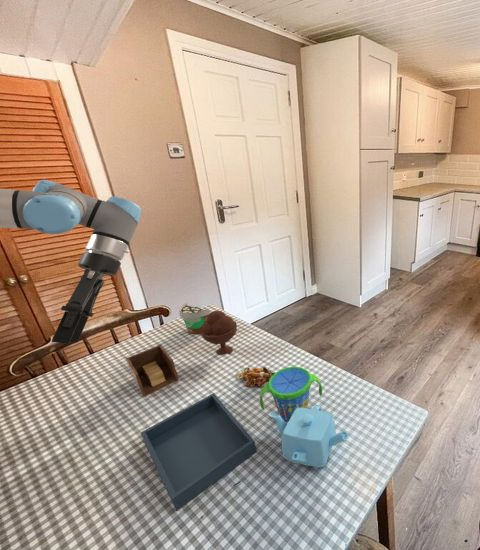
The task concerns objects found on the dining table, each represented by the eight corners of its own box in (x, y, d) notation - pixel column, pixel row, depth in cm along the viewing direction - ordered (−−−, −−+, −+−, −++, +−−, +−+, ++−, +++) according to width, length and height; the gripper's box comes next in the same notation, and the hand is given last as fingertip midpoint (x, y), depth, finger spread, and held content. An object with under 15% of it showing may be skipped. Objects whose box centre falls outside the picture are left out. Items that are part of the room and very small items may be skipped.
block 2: (149, 381, 89) (145, 372, 88) (162, 375, 92) (159, 366, 90) (152, 387, 87) (149, 377, 86) (165, 380, 90) (162, 371, 88)
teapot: (355, 434, 73) (354, 402, 69) (337, 494, 60) (335, 459, 56) (286, 421, 76) (282, 390, 73) (256, 475, 64) (248, 441, 60)
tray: (144, 443, 71) (140, 432, 70) (216, 403, 82) (213, 392, 81) (176, 511, 57) (171, 499, 56) (256, 452, 69) (254, 440, 67)
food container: (176, 333, 114) (170, 310, 110) (191, 325, 119) (185, 302, 116) (200, 340, 110) (194, 316, 106) (214, 331, 115) (209, 308, 111)
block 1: (145, 375, 92) (142, 366, 90) (158, 370, 94) (155, 361, 93) (148, 380, 90) (145, 371, 88) (161, 374, 92) (158, 365, 91)
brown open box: (133, 380, 91) (125, 358, 88) (167, 365, 97) (160, 344, 94) (144, 398, 84) (135, 375, 81) (179, 381, 90) (172, 359, 87)
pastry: (242, 368, 95) (240, 359, 94) (277, 373, 93) (276, 364, 92) (229, 383, 89) (226, 374, 88) (266, 390, 87) (264, 380, 85)
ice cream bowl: (199, 360, 99) (189, 320, 94) (220, 341, 109) (212, 304, 104) (229, 363, 98) (220, 323, 92) (247, 343, 108) (240, 306, 102)
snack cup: (321, 391, 86) (319, 361, 82) (325, 420, 77) (323, 389, 73) (264, 400, 83) (259, 370, 79) (261, 432, 73) (255, 400, 70)
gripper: (120, 251, 68) (79, 346, 62) (123, 269, 87) (92, 343, 81) (76, 239, 64) (28, 340, 58) (89, 260, 83) (54, 338, 77)
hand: (65, 342), depth 69 cm, fingers open, 13 cm apart
